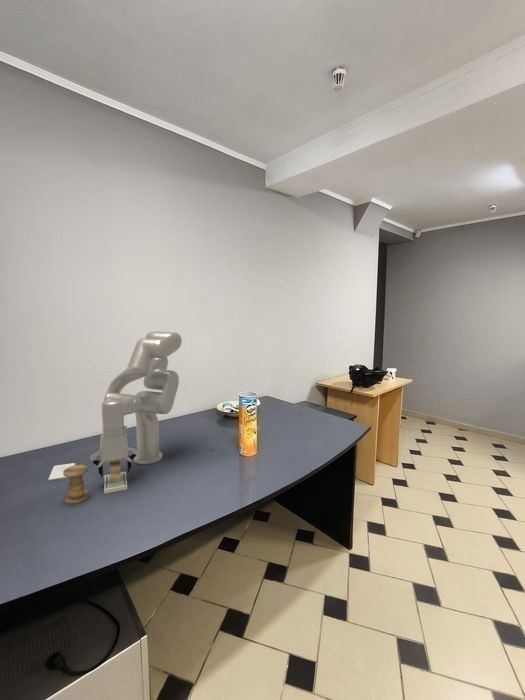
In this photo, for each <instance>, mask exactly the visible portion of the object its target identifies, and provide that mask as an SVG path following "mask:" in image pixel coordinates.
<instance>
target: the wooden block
mask: <svg viewBox="0 0 525 700" xmlns="http://www.w3.org/2000/svg"><path fill="white" fill-rule="evenodd" d="M109 471H110V472H109V474H110V479H111V483H114V482H120V481H121V474H120V472H121V459H119V460H113V461H109Z"/></svg>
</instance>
